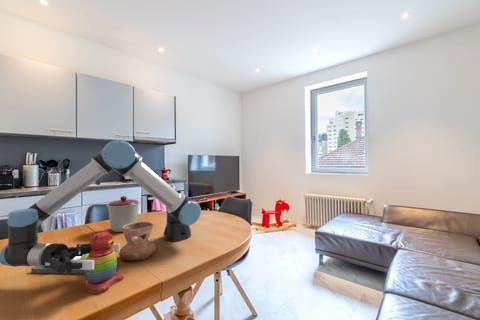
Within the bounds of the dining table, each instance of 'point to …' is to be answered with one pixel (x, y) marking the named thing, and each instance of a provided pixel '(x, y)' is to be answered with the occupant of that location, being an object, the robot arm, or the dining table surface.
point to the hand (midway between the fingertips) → (107, 255)
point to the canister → (122, 213)
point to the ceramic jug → (137, 241)
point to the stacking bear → (102, 264)
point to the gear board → (46, 270)
